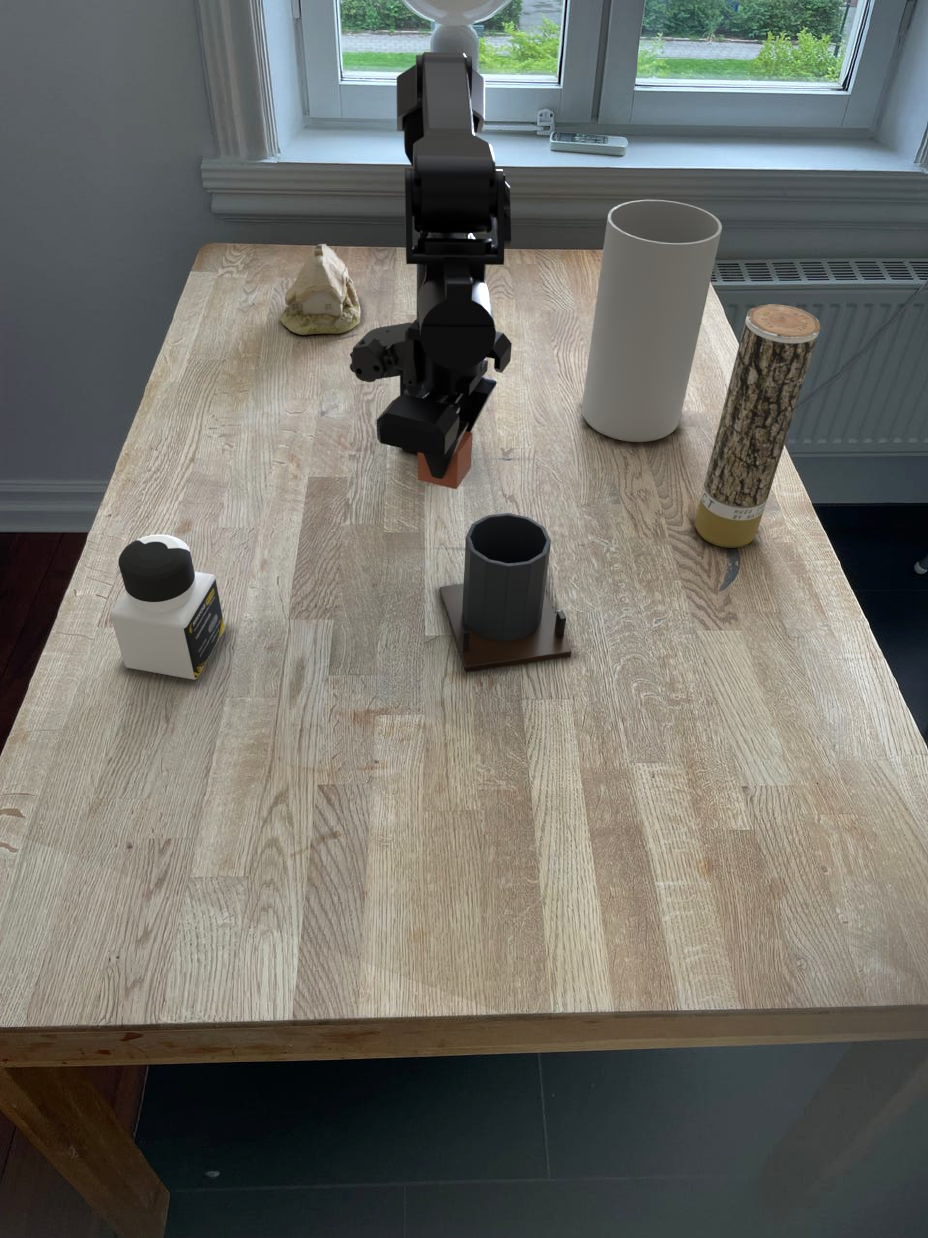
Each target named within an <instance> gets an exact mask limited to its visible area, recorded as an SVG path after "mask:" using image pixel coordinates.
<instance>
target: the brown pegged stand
mask: <svg viewBox="0 0 928 1238" xmlns="http://www.w3.org/2000/svg"><path fill="white" fill-rule="evenodd" d="M463 586H464V583H458V584H453V585H452V584H451V585H442V586H439V592H438V593H439V596H440V598H441V602H442V605H443V608H444V611H445V614H446V617H447V620H448V623H449V627H450V629H451V633H452V636H453V639H454V643H455V646H456V649H457V652H458V655H459V658H460V662H461V664H462V667H463V671H464V673H471V672H478V671H485V670H492V669H498V668H505V667H511V666H519V665H525V664H532V663H539V662H546V661H547V662H548V661H552V660H559V659H566V658H571V656H572V649H571V646H570V645H569V642H568V639H567V638H566V635H565V629H566V624H567V622H566V621H567V616H566V615H565V613H564V610H563V609H561V610H557V611H556V613H555V610H554V608H553V606H552V604H551V601H550V599H549V596H548V595H547V592H546V591H545V593H544V601H543V609H542V616H541V619H540V622H539V625H538V628H537V629H536V630H535V631H533V632H532V633H530V634H529V635H527V636H526V637H524V638H523V639H518V640H511V641H504V642H500V641H496V640H492V639H488V638H483V637H481V636H479V635H478V634H477V633H476V632H474V631H473V630H472V629H470V628H469V627H468V625H467V623H466V622H465V619H464V616H463V613H462V607H463Z"/></svg>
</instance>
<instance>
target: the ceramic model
mask: <svg viewBox="0 0 928 1238" xmlns="http://www.w3.org/2000/svg"><path fill="white" fill-rule="evenodd" d="M359 301H360V300H359V298H358V294H357V290H356V286H355V283H354V281H353V280H352V278H351V277H350V275H349V270H348V268H347V266H346V265H345V262H343V260H342V259H341V258H340V256H338V254H337V253H336V252H335V251H334V250H333V249H332V248H330V247H328V245H327V244H326V243H319V244H317V245H315V247H314V250H313V251H312V253H311V254H310V255H309V256H308V258H307V259H306V260H305V262H304V264H303V266H302V267H301V268H300V270H299V272H298V274H297V277H296V279H295V281H294V284H292V285H291V287H290V288H288V290H287V291H286V292H285V296H284V302H285V304H286V307H285V308H284V309H283V314H282V317H281V320H280V321H281V323H282V325H284V326H285V328H287V329H288V330H289V331H290V332H293V333H294V334H297V335H301V336H306V335H318V334H343V333H346V332H349V331H351V330H352V329H354V328H356V327H357V326H358V325H359V324H360V321H361V306H360V302H359Z"/></svg>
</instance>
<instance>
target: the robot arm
mask: <svg viewBox="0 0 928 1238" xmlns="http://www.w3.org/2000/svg"><path fill="white" fill-rule="evenodd" d="M485 111H486V81H485V77H483V76H482V75H481V74H480V73H479V72H477V70H475V69H474V68H473V58H472V56H471V55H468V56H467V55H466V54H465V53H464V52H442V51H441V52H440V51H439V52H438V51H437V52H436V51H434V52H433V51H424V52H423V53H422V54H416V55H415V64H414V65H412V66H411V67H409V68H408V69H406V70H405V71H403V72H401V73H400V74H399V75H397V76H396V132H403V146H404V147H403V148H404V154H405V155H406V158H407V159H408V161H409V163H410V165H411V166H412V168H411V167H408V168H407V167H405V168H404V228H405V230H404V231H405V263H406V265H416V318H415V320H413V322H403V323H398V324H397V323H396V324H391V325H385V326H380V327H376V328H373V329H371V330H369V331H368V332H367V333H366V334H365V335H363V337H362V338H361V339H360V340H359V341H358V342H357V343H356V344H355V345H354V346H353V347H352V351H351V352H350V354H349V356H350V359H351V363H349V369H350V371H351V372H352V373H354V374H355V377H356V378H357V379H358V380H359V381H361V382H365V383H374V382H375V381H376V380H382V379H388V378H396V377H399V395H397V397H396V398H394V399H393V400H391V402H390V403H389V404H388V405H387V407H385V409H384V410H383V411H382V412H381V414H380V415H379V416H378V417H377V418H376V439H377V441H378V442H379V443H380V444H382V445H385V446H391V447H395V448H400V450H402V451H406V452H410V453H413V454H418V452H419V453H423V454H424V457H425V460H426V462H427V465H428V468H429V470H430V473H431V476H432V477H434V478H438V479H443V477H444V476H445V473H446V471H447V469H448V467H449V465H450V463H451V461H452V459H453V456H454V454H455V452H456V450H457V448H458V446H459V443H460V441H461V439H462V437H463V435H464V433H465V431H468V432H472V431H473V429H474V427H475V425H476V423H477V422H478V420H479V417H480V416H481V414H482V412H483V410H484V408H485V406H486V405H487V402H488V401H489V399H490V397H491V395H492V394H493V391H494V389H495V388H496V386H497V384H498V381H497V380H496V379H495V378H491V377H487V376H485V374H486V373H487V371H488V368H489V367H488V366H489V360H488V359H493V361H494V363H493V369H494V371H495V373H500V374H502V373H503V372H504V371H505V370H506V368H507V367H508V365H509V364H510V362H511V358H512V344H513V343H512V342H511V340H510V339H509V338H508V337H507V336H506V334H505V333H504V332H503V331H497V329H496V323H495V318H494V311H493V307H492V302H491V296H490V291H489V288H488V285H487V282H486V278H487V277H486V276H487V275H486V274H487V273H486V272H487V266H504V265H505V248H511V247H510V246H511V244H512V218H511V217H512V216H511V215H512V214H511V212H512V211H511V186H510V185H509V184H508V183H507V182H506V174H505V173H504V170H503V169H497V168H496V159H495V154H494V151H493V146H492V144H490V142H488V141H486V140H484V139H482V138H480V137H479V136H477V135H476V134H481V133H482V132H483V128H484V124H485V120H486V117H485V116H486V112H485ZM492 219H493V221H492ZM413 230H414V232H415V233H417V234H418V237H417V244H414V242H413V240H414V238H413V236H414V235H413ZM492 231H493V236H494V237H493V241H494V245H492V244H493V243H492V242H493V241H492V239H491V238H476V237H475V236H474V235H473V234H490V233H491V232H492ZM486 358H488V359H486Z"/></svg>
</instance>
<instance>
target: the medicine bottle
mask: <svg viewBox="0 0 928 1238" xmlns="http://www.w3.org/2000/svg"><path fill="white" fill-rule="evenodd" d="M118 568H119V571H120V575H121V578H122V582H123V586H124V589H125V590H124V591H122V594H121V595H120V597H119V598H118V600H117V601H116V602H115V604H114V605H113V606H112V608H111V610H110V611H109V616H110V620H111V623H112V626H113V630H114V634H115V637H116V640H117V643H118V647H119V650H120V653H121V656H122V661H123V663H124V666H125V667H126V668H127V669H131V670H139V671H142V672H148V673H155V674H161V675H165V676H171V677H176V678H181V679H187V680H197V679H198V678H200V675H201V673H202V672H203V670H204V668H205V666H206V664H207V663H208V661H209V659H210V657H211V655H212V654H213V651H214V650H215V648H216V646H217V644H218V643H219V641H220V640H221V637H222V635H223V633H224V632H225V628H226V626H225V621H224V617H223V611H222V605H221V601H220V595H219V590H218V584H217V579H216V575H214V574H211V573H205V572H201V571H200V572H199V571H195V567H194V564H193V559H192V554H191V549H190V547H189V545H188V544H187V543H186V542H185V541H183V540H182V539H180V538H178V537H176V536H173V535H169V534H151V535H146V536H142V537H139V538H137V539H135V540H133V541H132V542H130V543H128V545H126V546H125V548H124V549H123V550H122V551H121V552H120V555H119V557H118Z"/></svg>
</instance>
